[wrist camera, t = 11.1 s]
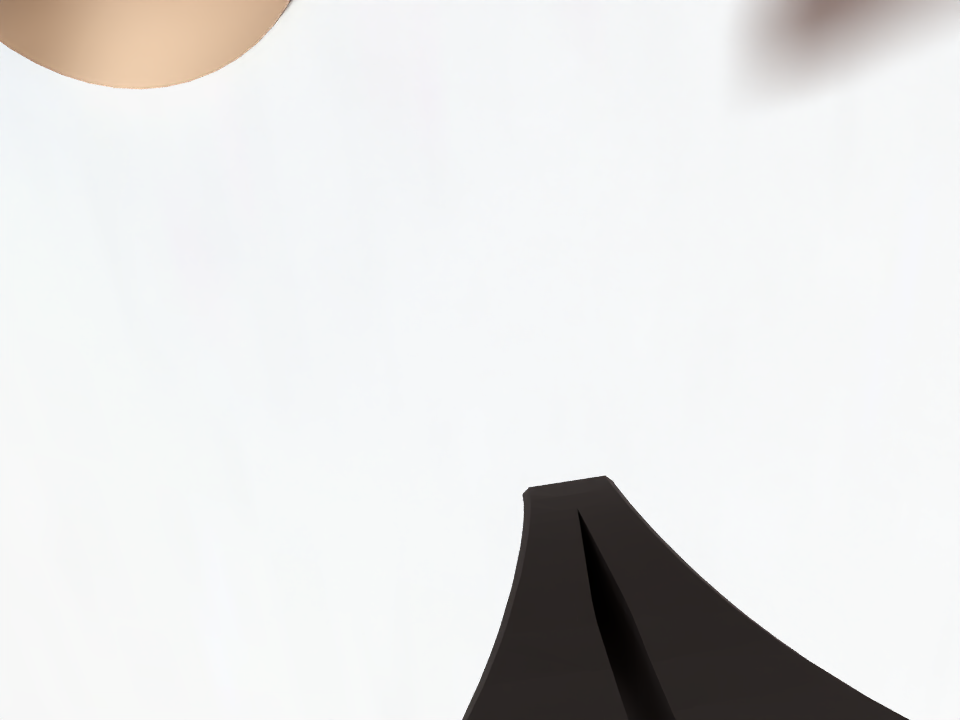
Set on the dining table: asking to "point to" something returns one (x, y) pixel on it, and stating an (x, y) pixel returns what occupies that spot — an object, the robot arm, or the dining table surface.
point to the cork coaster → (135, 37)
